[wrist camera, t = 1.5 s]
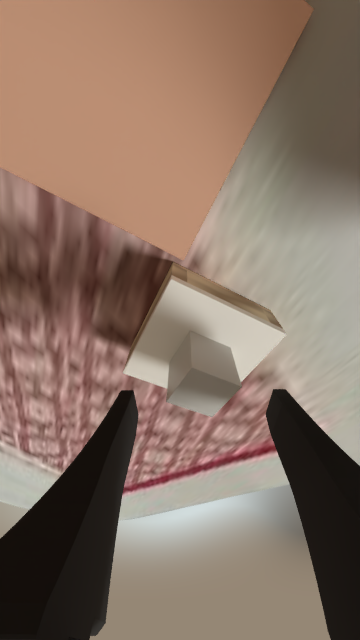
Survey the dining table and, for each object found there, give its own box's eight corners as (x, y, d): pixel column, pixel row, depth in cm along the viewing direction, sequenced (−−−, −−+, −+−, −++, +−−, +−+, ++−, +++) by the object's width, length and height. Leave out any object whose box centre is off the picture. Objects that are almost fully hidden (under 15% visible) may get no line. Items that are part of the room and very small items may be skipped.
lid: (278, 322, 15) (312, 372, 11) (215, 391, 18) (224, 447, 15) (172, 269, 13) (167, 308, 9) (127, 359, 17) (110, 413, 13)
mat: (308, 16, 9) (313, 9, 8) (183, 258, 14) (183, 260, 14) (17, -260, 6) (8, -286, 6) (-1, 164, 11) (-7, 163, 11)
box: (270, 310, 16) (283, 328, 14) (213, 377, 20) (217, 399, 18) (173, 261, 14) (171, 274, 12) (131, 346, 18) (124, 367, 16)
